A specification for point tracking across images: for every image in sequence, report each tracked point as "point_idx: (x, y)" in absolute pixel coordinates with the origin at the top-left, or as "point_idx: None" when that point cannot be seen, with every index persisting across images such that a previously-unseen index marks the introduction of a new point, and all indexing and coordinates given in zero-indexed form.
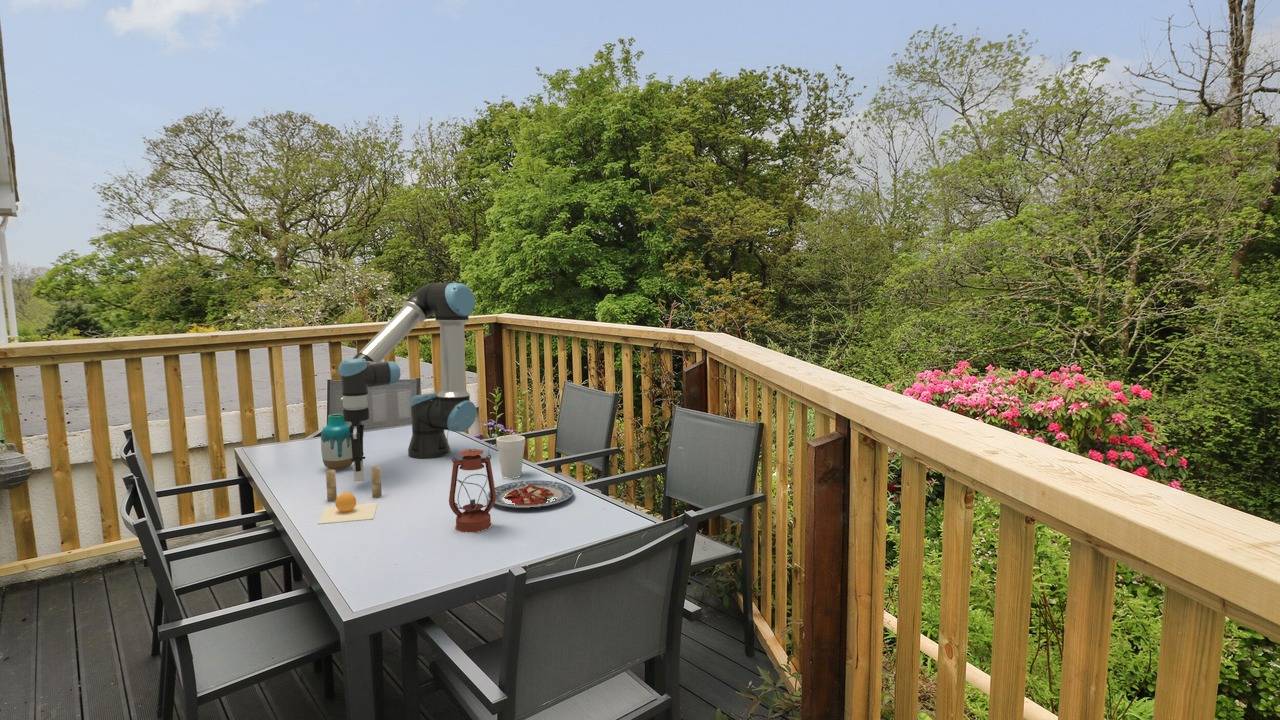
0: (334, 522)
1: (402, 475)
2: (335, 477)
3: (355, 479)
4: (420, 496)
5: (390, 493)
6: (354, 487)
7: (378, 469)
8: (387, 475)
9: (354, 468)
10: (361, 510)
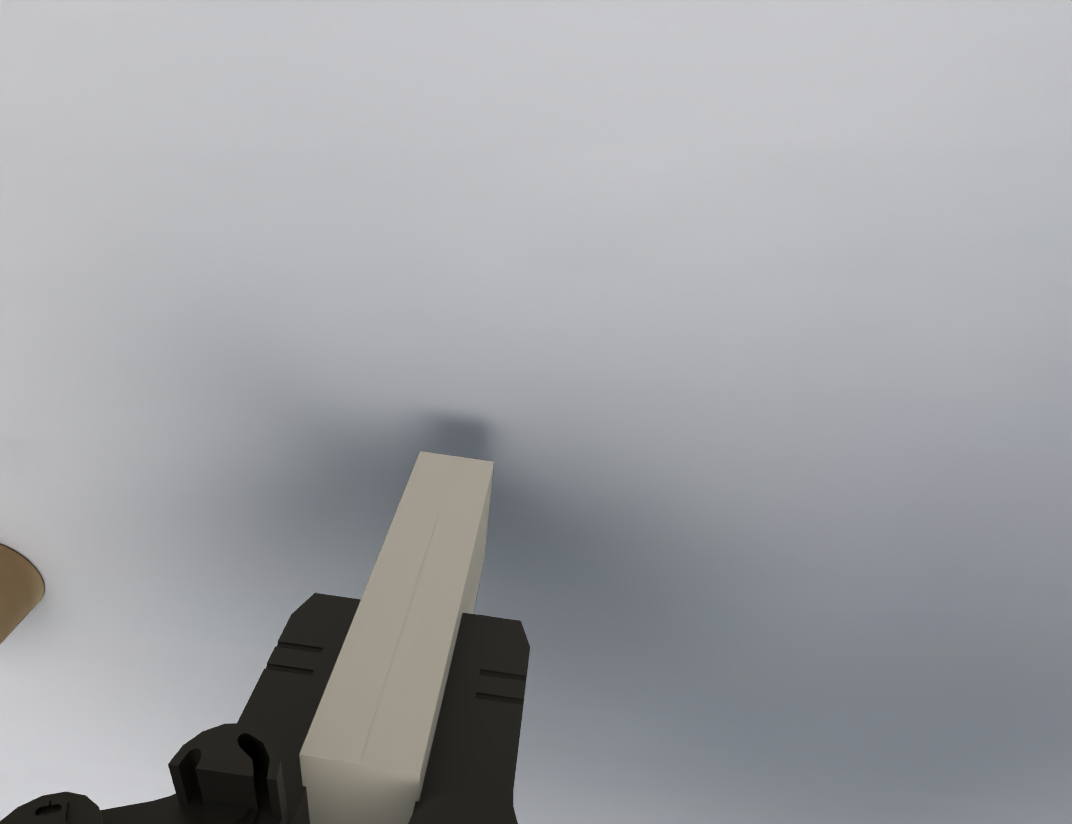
0: None
1: (720, 812)
2: None
3: (411, 483)
4: (5, 805)
5: (103, 671)
6: (426, 399)
7: None
8: (811, 726)
9: (358, 619)
10: None
